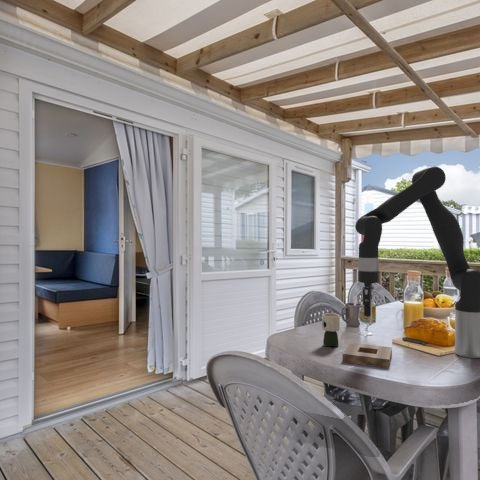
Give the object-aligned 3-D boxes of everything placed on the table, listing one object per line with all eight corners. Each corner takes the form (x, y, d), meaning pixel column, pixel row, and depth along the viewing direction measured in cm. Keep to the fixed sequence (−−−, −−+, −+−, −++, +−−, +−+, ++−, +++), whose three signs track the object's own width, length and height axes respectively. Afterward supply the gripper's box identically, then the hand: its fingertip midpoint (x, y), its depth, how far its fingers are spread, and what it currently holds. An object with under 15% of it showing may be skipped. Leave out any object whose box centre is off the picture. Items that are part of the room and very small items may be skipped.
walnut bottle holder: (391, 355, 148) (391, 347, 148) (389, 368, 133) (389, 359, 133) (349, 350, 154) (349, 342, 154) (342, 361, 140) (342, 353, 140)
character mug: (320, 341, 166) (320, 312, 166) (337, 342, 165) (337, 312, 165) (323, 349, 155) (323, 317, 155) (341, 349, 155) (341, 317, 154)
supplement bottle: (372, 320, 146) (372, 295, 146) (378, 323, 141) (378, 297, 141) (358, 320, 146) (358, 295, 146) (363, 324, 141) (363, 297, 141)
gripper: (377, 271, 135) (377, 319, 135) (380, 268, 148) (380, 311, 148) (355, 270, 138) (355, 317, 139) (360, 267, 151) (360, 310, 152)
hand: (368, 314), depth 143 cm, fingers closed on supplement bottle, 5 cm apart
